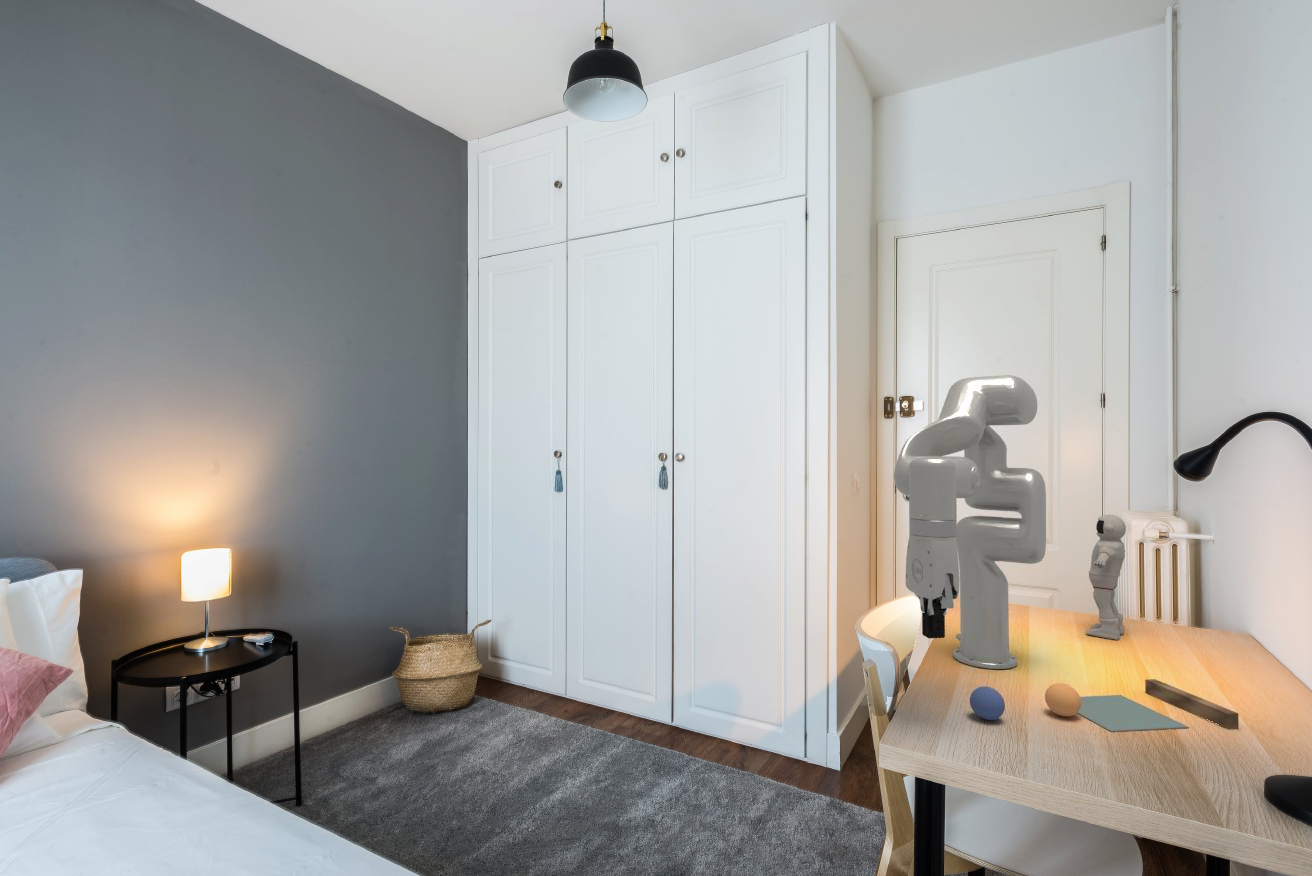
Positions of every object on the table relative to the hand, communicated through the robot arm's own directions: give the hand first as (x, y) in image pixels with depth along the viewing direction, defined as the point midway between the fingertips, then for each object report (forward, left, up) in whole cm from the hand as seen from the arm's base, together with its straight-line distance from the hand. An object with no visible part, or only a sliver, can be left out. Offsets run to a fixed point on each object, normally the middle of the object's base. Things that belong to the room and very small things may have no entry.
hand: (933, 636), depth 110 cm
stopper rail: (0, +48, -15) cm, 50 cm away
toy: (-44, +70, -15) cm, 84 cm away
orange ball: (0, +24, -12) cm, 26 cm away
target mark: (0, +34, -15) cm, 37 cm away
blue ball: (0, +10, -12) cm, 15 cm away
